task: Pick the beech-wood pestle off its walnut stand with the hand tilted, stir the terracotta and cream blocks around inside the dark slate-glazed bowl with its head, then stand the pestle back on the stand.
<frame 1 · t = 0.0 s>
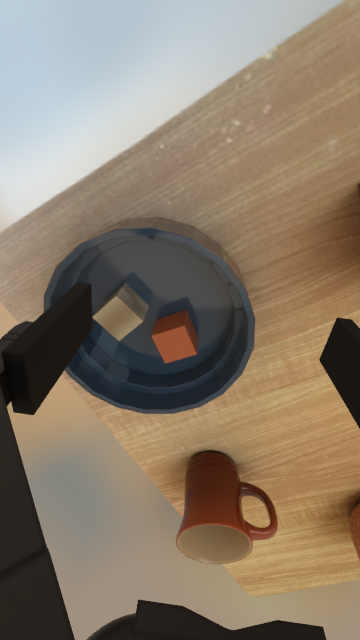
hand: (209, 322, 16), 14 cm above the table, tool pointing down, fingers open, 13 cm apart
bowl: (156, 310, 32), on the table
terracotta block: (177, 328, 32), point 1 cm above the table, touching bowl
cream block: (126, 304, 31), point 1 cm above the table, touching bowl
mug: (222, 463, 43), on the table
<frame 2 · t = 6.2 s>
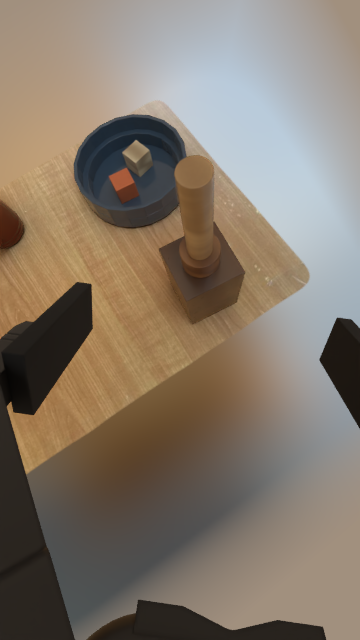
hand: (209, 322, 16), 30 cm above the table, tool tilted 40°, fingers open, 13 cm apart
bowl: (136, 183, 55), on the table
stand: (203, 292, 48), on the table
pestle: (200, 260, 37), point 12 cm above the table, touching stand
terracotta block: (127, 192, 54), point 1 cm above the table, touching bowl
cream block: (140, 166, 55), point 1 cm above the table, touching bowl
mug: (9, 241, 55), on the table
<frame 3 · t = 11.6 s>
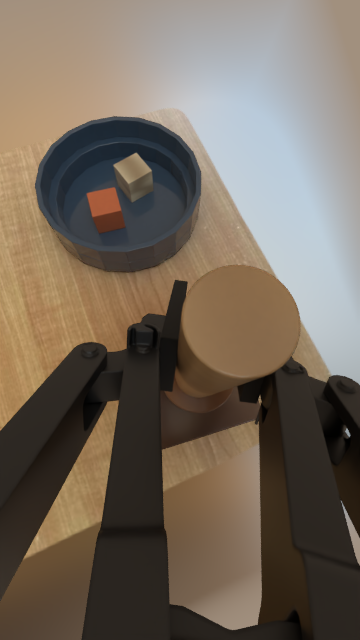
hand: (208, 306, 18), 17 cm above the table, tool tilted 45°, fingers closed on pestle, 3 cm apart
bowl: (126, 209, 40), on the table
stand: (186, 388, 33), on the table
pestle: (194, 378, 22), point 12 cm above the table, touching gripper
terracotta block: (109, 219, 39), point 1 cm above the table, touching bowl
cream block: (135, 187, 40), point 1 cm above the table, touching bowl
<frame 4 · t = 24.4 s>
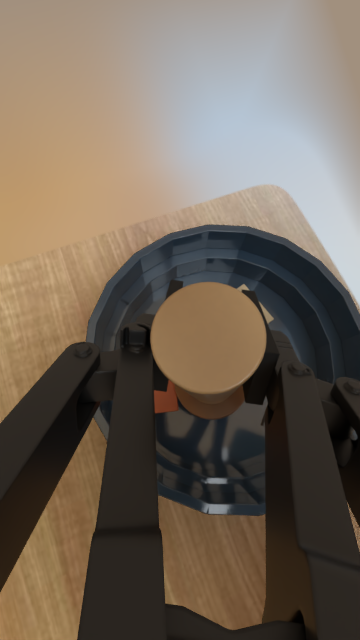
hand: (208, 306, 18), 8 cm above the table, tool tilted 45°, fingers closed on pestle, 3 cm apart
bowl: (217, 362, 25), on the table
pestle: (211, 384, 22), point 2 cm above the table, tilted 8°, touching gripper, terracotta block
terracotta block: (153, 390, 23), point 1 cm above the table, touching bowl, pestle
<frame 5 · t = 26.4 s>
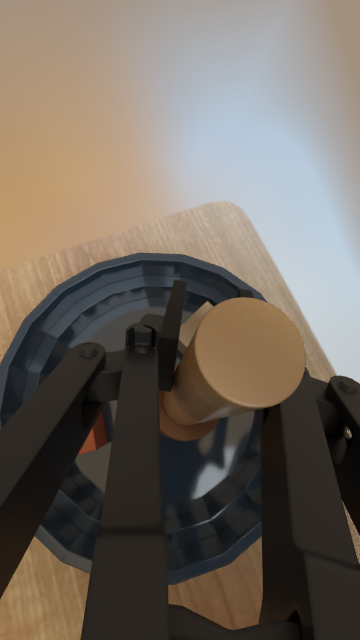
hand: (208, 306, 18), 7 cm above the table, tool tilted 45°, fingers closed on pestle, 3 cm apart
bowl: (157, 396, 23), on the table
pestle: (180, 405, 21), point 2 cm above the table, tilted 7°, touching gripper
terracotta block: (80, 425, 22), point 1 cm above the table, touching bowl
cream block: (202, 344, 24), point 1 cm above the table, touching bowl
when the fingers open (18 cm above the table, at t = 38.3 s): pestle stays where it is, resting on stand.
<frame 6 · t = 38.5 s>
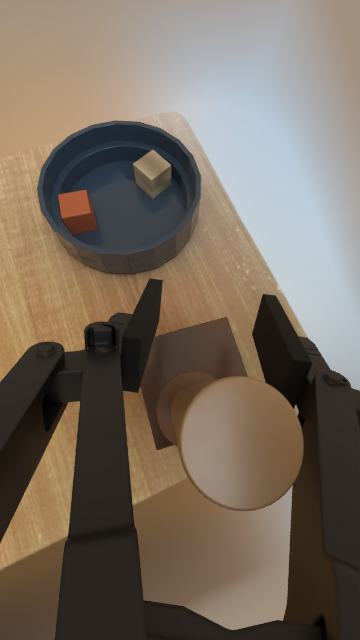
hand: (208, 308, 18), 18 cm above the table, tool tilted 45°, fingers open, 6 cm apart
bowl: (126, 211, 40), on the table
stand: (186, 389, 34), on the table
pestle: (190, 406, 21), point 12 cm above the table, touching stand
terracotta block: (82, 221, 39), point 1 cm above the table, touching bowl
cream block: (153, 184, 41), point 1 cm above the table, touching bowl
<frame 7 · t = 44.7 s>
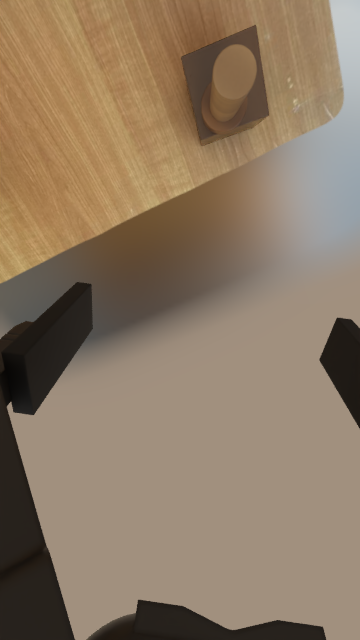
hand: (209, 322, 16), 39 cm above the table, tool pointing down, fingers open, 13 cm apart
stand: (220, 106, 43), on the table
pestle: (222, 109, 33), point 12 cm above the table, touching stand
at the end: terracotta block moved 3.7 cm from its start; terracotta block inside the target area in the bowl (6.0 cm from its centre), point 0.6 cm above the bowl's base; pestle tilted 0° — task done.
